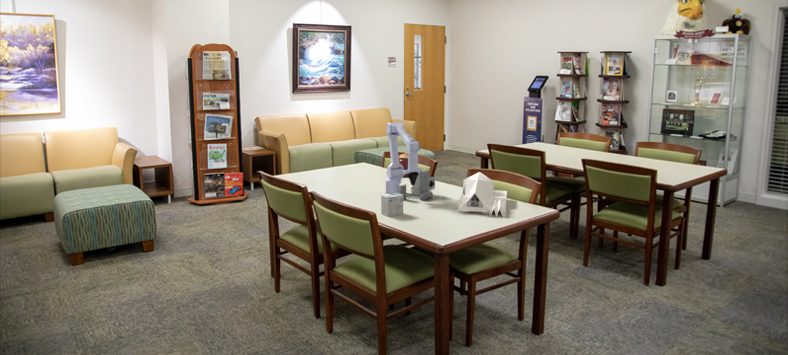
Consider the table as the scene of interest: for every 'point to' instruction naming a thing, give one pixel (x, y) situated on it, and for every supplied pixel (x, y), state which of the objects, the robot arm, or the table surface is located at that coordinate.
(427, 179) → the circuit breaker
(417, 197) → the pad
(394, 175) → the robot arm
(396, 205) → the light bulb box
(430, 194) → the post right
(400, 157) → the canister
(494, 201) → the white faceted model
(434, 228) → the table surface
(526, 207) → the table surface
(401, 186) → the post left
